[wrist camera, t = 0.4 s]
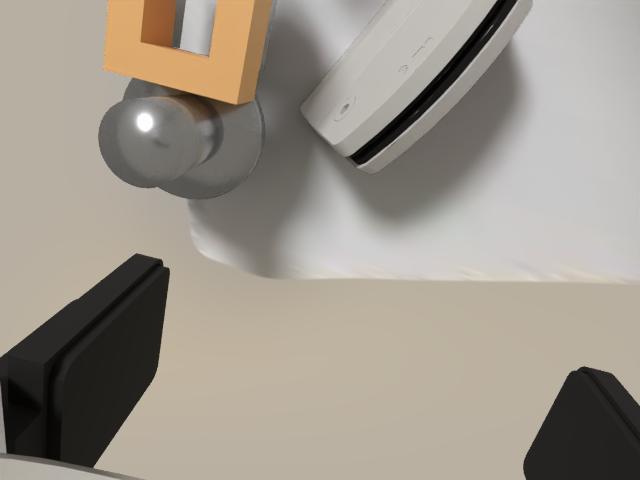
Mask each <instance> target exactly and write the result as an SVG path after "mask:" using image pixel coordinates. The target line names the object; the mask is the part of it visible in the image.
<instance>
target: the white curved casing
mask: <svg viewBox="0 0 640 480" xmlns="http://www.w3.org/2000/svg"><path fill="white" fill-rule="evenodd" d="M532 5H533V2H532V0H388V1H387V2H386V3H385V4H384V5H383V7H382V8H381V9H380V10H379V11H378V13H377V14H376V15H375V16H374V18H373V19H372V20H371V21H370V22H369V24H368V25H367V26H366V27H365V28H364V30H363V31H362V32H361V33H360V35H359V36H358V37H357V38H356V39H355V41H354V42H353V43H352V44H351V46H350V47H349V48H348V49H347V50H346V52H345V53H344V54H343V55H342V56H341V58H340V59H339V60H338V61H337V63H336V64H335V65H334V66H333V67H332V69H331V70H330V71H329V72H328V73H327V75H326V76H325V77H324V78H323V80H322V81H321V82H320V83H319V84H318V86H317V87H316V88H315V89H314V90H313V92H312V93H311V94H310V95H309V97H308V98H307V99H306V100H305V101H304V103H303V104H302V105H301V106H300V107H299V110H300V112H301V114H302V115H303V116H304V118H305V119H306V120H307V121H308V122H309V124H310V125H311V126H312V127H313V128H314V130H315V131H316V132H317V133H318V134H319V135H320V136H321V137H322V138H323V139H324V140H325V141H326V142H327V143H328V144H329V145H330V146H331V147H332V148H334V149H335V150H336V151H337V152H338V153H339V154H340V155H341V156H342V157H345V158H346V159H347V160H348V161H349V162H350V163H351V164H352V165H354V166H355V167H356V168H358V169H360V170H362V171H364V172H366V173H368V174H375V173H377V172H378V171H380V170H381V169H382V168H384V167H385V166H387V165H388V164H389V163H391V162H392V161H393V160H395V159H396V158H397V157H398V156H400V155H401V154H402V153H404V152H405V151H406V150H407V149H408V148H410V147H411V146H412V145H413V144H414V143H415V142H416V141H418V140H419V139H420V138H421V137H422V136H423V135H424V134H426V133H427V132H428V131H429V130H430V129H431V128H432V127H433V126H434V125H435V124H436V123H437V122H438V121H439V120H440V119H441V118H443V117H444V116H445V115H446V114H447V113H448V112H449V111H450V110H451V109H452V108H453V107H454V106H455V105H456V104H457V103H458V102H459V100H460V99H461V98H462V97H463V96H464V95H465V94H466V93H467V92H468V91H469V90H470V88H471V87H472V86H473V85H474V84H475V83H476V82H477V81H478V79H479V78H480V77H481V76H482V75H483V73H484V72H485V71H486V70H487V69H488V67H489V66H490V65H491V64H492V63H493V61H494V60H495V59H496V58H497V57H498V55H499V54H500V53H501V51H502V50H503V49H504V47H505V46H506V45H507V44H508V42H509V41H510V39H511V38H512V37H513V35H514V34H515V32H516V31H517V29H518V28H519V27H520V25H521V24H522V22H523V21H524V19H525V18H526V16H527V15H528V13H529V11H530V10H531V8H532Z"/></svg>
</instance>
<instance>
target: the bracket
mask: <svg viewBox="0 0 640 480" xmlns="http://www.w3.org/2000/svg"><path fill="white" fill-rule="evenodd" d="M176 3H177V0H108V12H107V26H106V27H107V28H106V40H105V54H104V68H103V69H104V70H107V71H111V72H114V73H118V74H122V75H126V76H130V77H133V78H137V79H141V80H145V81H148V82H152V83H156V84H160V85H164V86H167V87H171V88H175V89H179V90H183V91H186V92H190V93H194V94H198V95H202V96H205V97H209V98H213V99H217V100H220V101H224V102H228V103H232V104H236V105H238V104H242V103H246V102H251V101H254V96H255V91H256V86H257V80H258V75H259V70H260V64H261V59H262V53H263V48H264V43H265V37H266V32H267V27H268V21H269V16H270V11H271V5H272V0H217V7H216V14H215V20H214V27H213V34H212V41H211V47H210V54H209V57H208V56H204V55H200V54H196V53H192V52H189V51H185V50H181V49H177V48H174V47H171V45H172V37H173V28H174V20H175V12H176Z"/></svg>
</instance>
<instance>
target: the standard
mask: <svg viewBox="0 0 640 480" xmlns="http://www.w3.org/2000/svg"><path fill="white" fill-rule="evenodd" d="M185 3H186V0H177V3H176V12H175V20H174V28H173V37H172V45H171V47H175V48H180V43H181V35H182V27H183V19H184V11H185ZM276 4H277V0H272V5H271V11H270V16H269V21H268V27H267V32H266V37H265V43H264V48H263V53H262V59H261V64H260V70H264V67H265V62H266V57H267V52H268V46H269V41H270V36H271V31H272V25H273V20H274V15H275V10H276ZM200 55H202V54H200ZM204 56H207V55H204ZM208 57H209V56H208ZM98 138H99V139H98V140H99V147H100V151H101V154H102V156H103V158H104V160H105V162H106V164H107V165H108V167H109V168H110V169H111V170H112V172H113V173H114V174H115V175H116V176H118V177H119V178H120V179H122V180H123V181H125V182H126V183H128V184H131V185H133V186H136V187H140V188H155V187H159V188H161V189H162V190H164V191H166V192H168V193H170V194H173V195H176V196H179V197H182V198H188V199H208V198H213V197H217V196H220V195H223V194H225V193H227V192H229V191H230V190H232V189H233V188H235V187H236V186H238V185H239V184H240V183H241V182H242V181H243V180H244V179H245V178H246V177H247V176H248V175H249V174H250V173H251V172H252V170H253V169H254V168H255V166H256V164H257V162H258V160H259V158H260V156H261V153H262V149H263V146H264V139H265V123H264V116H263V112H262V108H261V106H260V103H259V100H258V98H257V96H256V94H255V96H254V101H251V102H246V103H242V104H238V105H236V104H232V103H228V102H224V101H220V100H217V99H213V98H209V97H205V96H202V95H198V94H194V93H190V92H186V91H183V90H179V89H175V88H171V87H167V86H164V85H160V84H156V83H152V82H148V81H145V80H141V79H137V78H132V80H131V82H130V83H129V85H128V87H127V89H126V91H125V94H124V97H123V100H122V101H121V102H118V103H117V104H115V105H114V106H113V107H111V108H110V109H109V110H108V111H107V112H106V114H105V115H104V117H103V119H102V121H101V124H100V127H99V134H98Z"/></svg>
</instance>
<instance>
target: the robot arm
mask: <svg viewBox="0 0 640 480" xmlns="http://www.w3.org/2000/svg"><path fill="white" fill-rule="evenodd" d="M169 276H170V270H169V268H167V267H163V261H162V260H161V259H157V258H153V257H149V256H145V255H141V254H135V255H133V256H132V257H131V258H129V259H128V260H127V261H126V262H124V263H123V264H122V265H120V266H119V267H118V268H117V269H115V270H114V271H113V272H112V273H110V274H109V275H108V276H107V277H105V278H104V279H103V280H101V281H100V282H99V283H98V284H96V285H95V286H94V287H93V288H92V289H90V290H89V291H88V292H86V293H85V294H84V295H83V296H81V297H80V298H79V299H76V300H74V301H72V302H71V303H70V304H68V305H67V306H66V307H64V308H63V309H62V310H60V311H59V312H58V313H57V314H55V315H54V316H53V317H51V318H50V319H49V320H48V321H46V322H45V323H44V324H43V325H41V326H40V327H39V328H37V329H36V330H35V331H34V332H33V333H31V334H30V335H29V336H27V337H26V338H25V339H24V340H22V341H21V342H20V343H18V344H17V345H16V346H14V347H13V348H12V349H11V350H9V351H8V352H7V353H6V354H4V355H3V356H2V357H0V480H143V479H139V478H135V477H131V476H127V475H123V474H118V473H113V472H109V471H104V470H99V469H94V468H93V467H94V465H95V464H96V462H97V461H98V459H99V458H100V457H101V455H102V454H103V452H104V451H105V449H106V448H107V446H108V445H109V443H110V442H111V440H112V439H113V438H114V436H115V434H116V433H117V432H118V430H119V429H120V427H121V426H122V424H123V423H124V421H125V420H126V419H127V417H128V416H129V414H130V413H131V411H132V410H133V408H134V407H135V405H136V404H137V402H138V401H139V400H140V398H141V397H142V395H143V394H144V392H145V391H146V389H147V388H148V386H149V385H150V383H151V382H152V380H153V378H154V376H155V374H156V371H157V367H158V361H159V353H160V346H161V337H162V330H163V322H164V315H165V307H166V299H167V291H168V284H169ZM523 470H524V474H525V477H526V480H640V406H639V405H638V403H637V402H636V401H635V400H634V399H633V397H632V396H631V395H630V394H629V393H628V391H627V390H626V389H625V388H624V387H623V386H622V384H621V383H620V382H619V381H618V380H617V379H616V377H615V376H614V375H613V374H611V373H609V372H604V371H601V370H596V369H593V368H588V367H585V366H584V367H580V368H579V369H578V370H577V371H572V372H571V373H569V375H568V376H567V379H566V380H565V382H564V384H563V386H562V388H561V390H560V392H559V394H558V396H557V398H556V399H555V401H554V403H553V405H552V407H551V409H550V411H549V413H548V415H547V417H546V418H545V420H544V422H543V424H542V426H541V428H540V430H539V432H538V434H537V436H536V438H535V439H534V441H533V443H532V445H531V447H530V449H529V451H528V453H527V455H526V457H525V460H524V464H523Z"/></svg>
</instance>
